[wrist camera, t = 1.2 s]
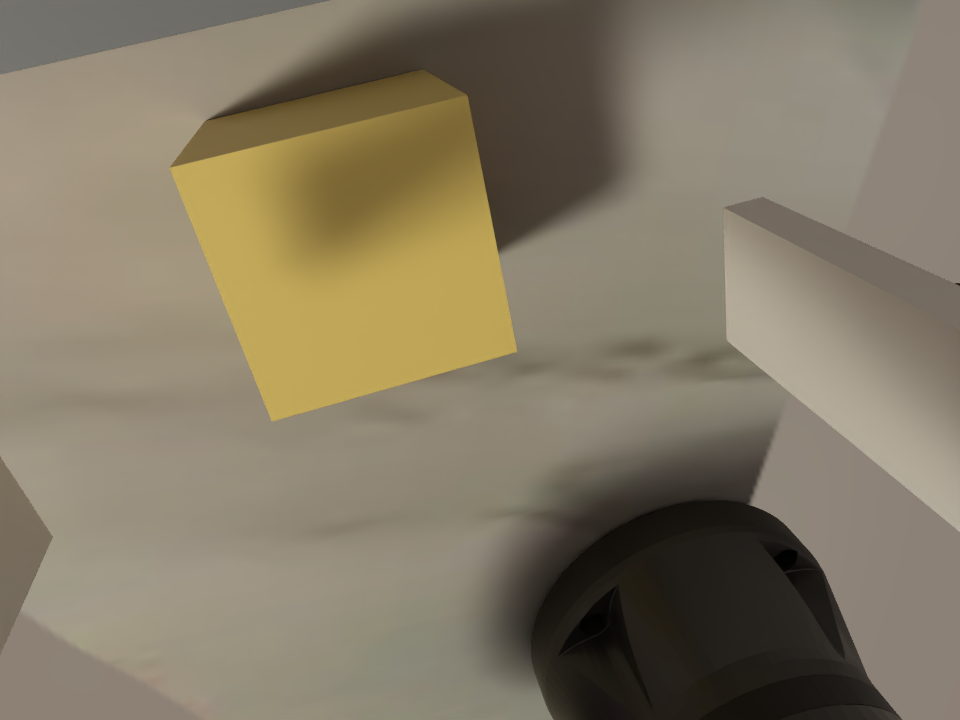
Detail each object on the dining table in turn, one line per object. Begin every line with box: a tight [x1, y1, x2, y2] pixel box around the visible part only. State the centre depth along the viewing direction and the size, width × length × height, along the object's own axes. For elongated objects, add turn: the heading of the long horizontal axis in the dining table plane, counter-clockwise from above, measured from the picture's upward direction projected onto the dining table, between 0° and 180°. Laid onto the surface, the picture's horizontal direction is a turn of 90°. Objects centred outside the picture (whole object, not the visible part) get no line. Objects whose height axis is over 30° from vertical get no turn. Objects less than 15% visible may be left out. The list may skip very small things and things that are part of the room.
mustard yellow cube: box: [170, 69, 517, 421], centre depth 21 cm, size 7×7×7 cm
